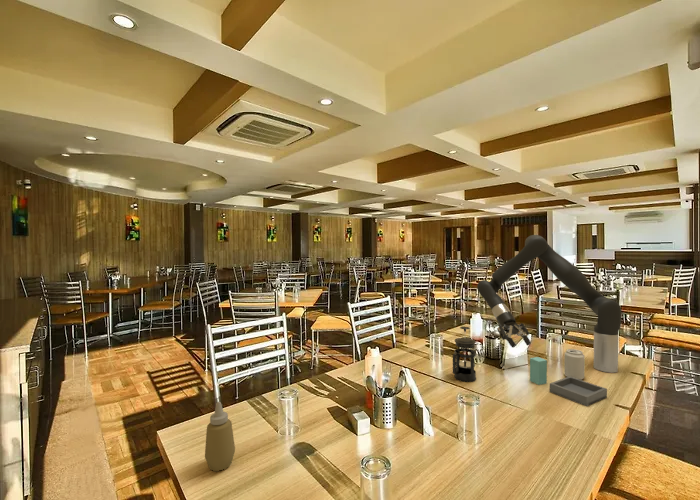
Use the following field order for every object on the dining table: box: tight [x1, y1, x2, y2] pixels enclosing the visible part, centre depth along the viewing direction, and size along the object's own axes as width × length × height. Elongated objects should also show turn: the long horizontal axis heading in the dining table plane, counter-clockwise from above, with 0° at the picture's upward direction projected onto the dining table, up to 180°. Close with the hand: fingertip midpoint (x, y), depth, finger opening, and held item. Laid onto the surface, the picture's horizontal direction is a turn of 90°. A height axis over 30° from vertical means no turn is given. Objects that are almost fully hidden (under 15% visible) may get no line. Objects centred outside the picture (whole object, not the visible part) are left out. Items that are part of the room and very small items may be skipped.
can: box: [563, 348, 586, 381], centre depth 153 cm, size 8×8×12 cm
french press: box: [452, 325, 477, 383], centre depth 154 cm, size 12×9×23 cm
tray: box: [549, 376, 608, 407], centre depth 137 cm, size 14×14×4 cm
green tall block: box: [529, 356, 548, 386], centre depth 149 cm, size 4×4×10 cm
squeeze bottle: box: [204, 401, 236, 472], centre depth 97 cm, size 8×8×18 cm
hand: (521, 345), depth 157 cm, fingers open, 8 cm apart
